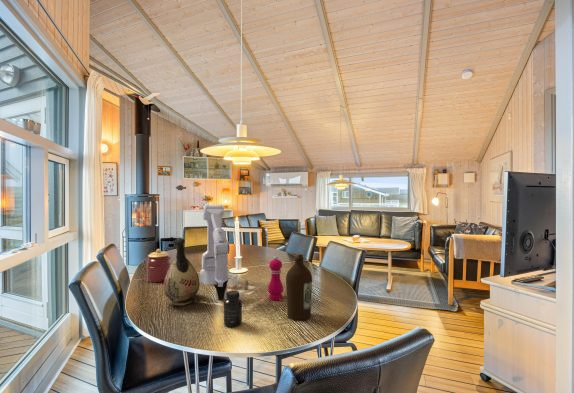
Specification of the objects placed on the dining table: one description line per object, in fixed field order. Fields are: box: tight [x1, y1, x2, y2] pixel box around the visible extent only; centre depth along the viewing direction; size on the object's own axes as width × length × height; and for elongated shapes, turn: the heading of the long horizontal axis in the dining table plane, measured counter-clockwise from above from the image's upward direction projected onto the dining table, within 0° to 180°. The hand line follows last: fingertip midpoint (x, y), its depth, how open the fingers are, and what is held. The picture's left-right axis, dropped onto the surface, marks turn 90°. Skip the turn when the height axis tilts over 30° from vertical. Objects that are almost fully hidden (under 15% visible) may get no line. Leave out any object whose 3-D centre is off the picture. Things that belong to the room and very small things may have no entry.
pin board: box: [214, 279, 261, 296], centre depth 149 cm, size 20×12×6 cm, turn 68°
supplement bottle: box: [223, 291, 243, 328], centre depth 112 cm, size 7×7×12 cm
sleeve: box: [215, 287, 227, 304], centre depth 136 cm, size 5×5×6 cm
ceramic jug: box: [163, 237, 201, 306], centre depth 133 cm, size 17×15×30 cm
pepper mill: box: [267, 256, 284, 302], centre depth 139 cm, size 7×7×20 cm
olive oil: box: [285, 253, 313, 322], centre depth 119 cm, size 11×11×25 cm
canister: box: [145, 248, 172, 283], centre depth 170 cm, size 13×13×18 cm
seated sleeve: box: [227, 273, 239, 289], centre depth 151 cm, size 5×5×6 cm
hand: (221, 297), depth 136 cm, fingers closed on sleeve, 5 cm apart
